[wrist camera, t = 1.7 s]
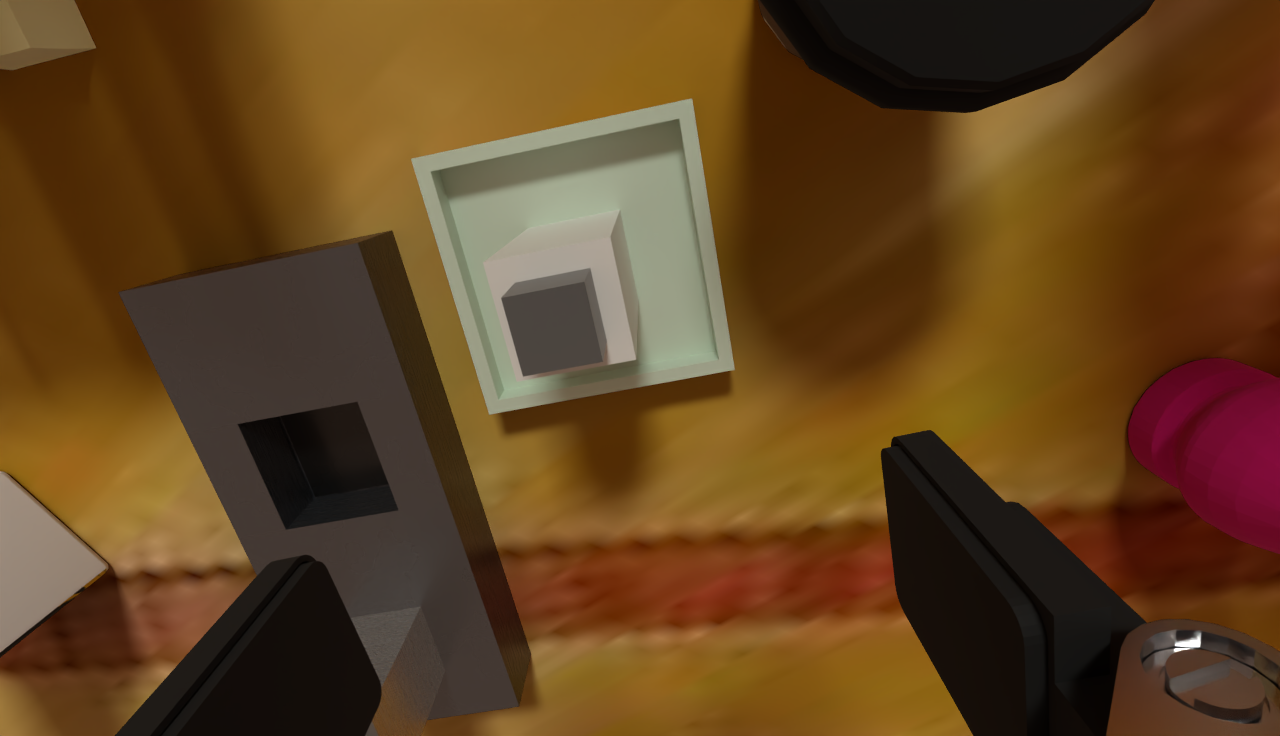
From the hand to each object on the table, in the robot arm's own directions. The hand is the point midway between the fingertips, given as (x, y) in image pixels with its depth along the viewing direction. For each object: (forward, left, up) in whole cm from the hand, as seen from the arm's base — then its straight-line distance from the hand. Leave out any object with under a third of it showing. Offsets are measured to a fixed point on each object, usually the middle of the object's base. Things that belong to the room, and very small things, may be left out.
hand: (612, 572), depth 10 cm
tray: (-2, -2, -19) cm, 19 cm away
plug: (-2, -2, -19) cm, 19 cm away
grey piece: (+7, -15, -19) cm, 25 cm away
